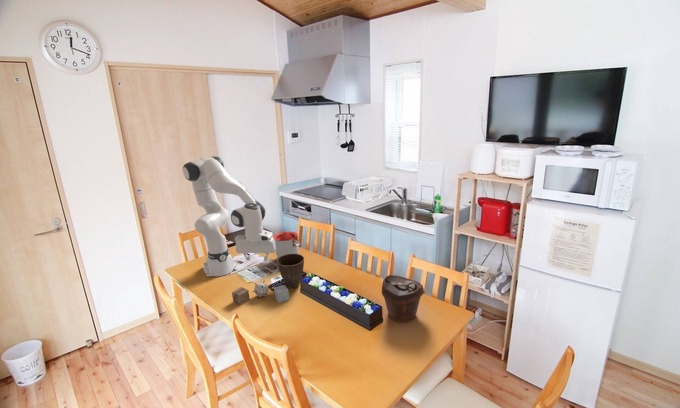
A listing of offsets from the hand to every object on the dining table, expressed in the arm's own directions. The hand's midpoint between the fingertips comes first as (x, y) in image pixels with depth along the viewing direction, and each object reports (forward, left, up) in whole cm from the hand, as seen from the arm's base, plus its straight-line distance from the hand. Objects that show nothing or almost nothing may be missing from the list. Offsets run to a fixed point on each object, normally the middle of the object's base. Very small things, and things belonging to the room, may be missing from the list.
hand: (257, 259), depth 173 cm
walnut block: (-4, -10, -21) cm, 24 cm away
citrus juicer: (-26, +35, -21) cm, 48 cm away
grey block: (+10, +6, -21) cm, 24 cm away
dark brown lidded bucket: (+64, +38, -22) cm, 78 cm away
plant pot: (+3, +18, -21) cm, 28 cm away
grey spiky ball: (0, 0, -21) cm, 21 cm away
